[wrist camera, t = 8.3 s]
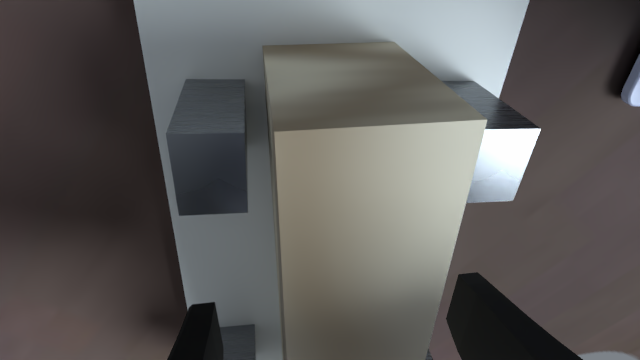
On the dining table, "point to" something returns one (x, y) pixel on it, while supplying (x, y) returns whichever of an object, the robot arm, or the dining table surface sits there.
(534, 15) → the dining table surface
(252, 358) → the cradle
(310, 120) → the long beige block
